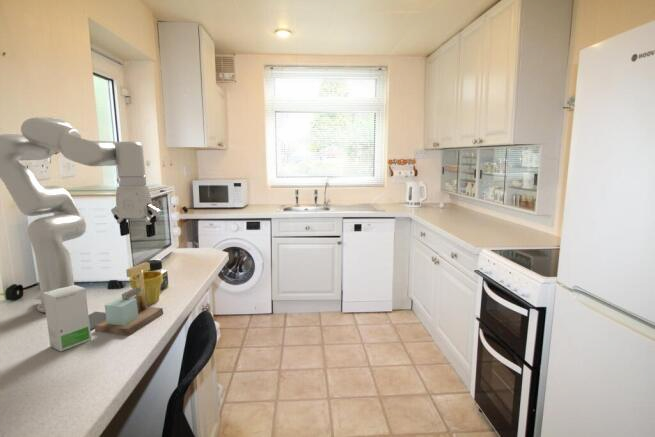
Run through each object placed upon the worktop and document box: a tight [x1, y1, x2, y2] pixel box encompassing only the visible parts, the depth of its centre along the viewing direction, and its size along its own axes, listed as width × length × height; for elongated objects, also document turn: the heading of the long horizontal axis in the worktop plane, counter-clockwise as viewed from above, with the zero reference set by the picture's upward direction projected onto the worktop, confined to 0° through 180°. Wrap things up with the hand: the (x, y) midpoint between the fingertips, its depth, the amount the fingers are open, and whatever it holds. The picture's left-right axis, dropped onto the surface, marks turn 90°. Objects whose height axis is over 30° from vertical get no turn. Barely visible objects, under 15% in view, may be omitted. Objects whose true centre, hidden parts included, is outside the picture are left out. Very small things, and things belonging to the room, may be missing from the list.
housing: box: [94, 305, 164, 336], centre depth 116 cm, size 12×15×2 cm
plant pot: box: [129, 271, 163, 306], centre depth 131 cm, size 10×10×10 cm
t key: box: [121, 261, 150, 310], centre depth 118 cm, size 2×11×14 cm, turn 166°
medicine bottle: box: [145, 258, 170, 294], centre depth 142 cm, size 7×7×12 cm
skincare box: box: [43, 284, 92, 352], centre depth 103 cm, size 8×7×16 cm
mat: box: [88, 311, 106, 332], centre depth 116 cm, size 9×11×1 cm
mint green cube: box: [104, 296, 138, 326], centre depth 112 cm, size 6×6×6 cm
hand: (138, 235), depth 118 cm, fingers open, 9 cm apart
